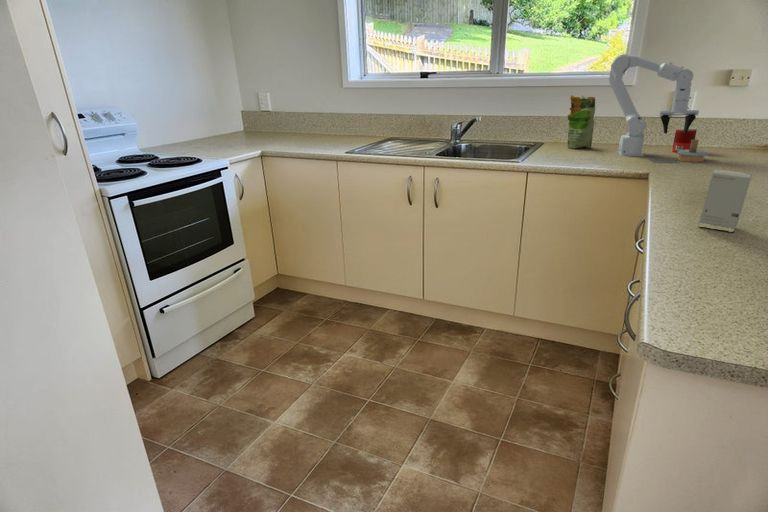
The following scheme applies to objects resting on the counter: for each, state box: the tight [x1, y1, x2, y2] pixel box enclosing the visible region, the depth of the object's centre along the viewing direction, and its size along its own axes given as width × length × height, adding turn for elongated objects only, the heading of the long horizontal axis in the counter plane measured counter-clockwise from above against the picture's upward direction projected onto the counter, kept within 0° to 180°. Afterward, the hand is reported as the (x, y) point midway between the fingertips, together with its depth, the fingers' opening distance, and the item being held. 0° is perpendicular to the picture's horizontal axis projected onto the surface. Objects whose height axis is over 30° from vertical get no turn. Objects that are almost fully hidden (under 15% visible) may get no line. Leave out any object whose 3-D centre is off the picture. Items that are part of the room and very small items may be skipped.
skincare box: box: [698, 169, 753, 230], centre depth 126 cm, size 8×6×15 cm
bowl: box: [677, 154, 705, 163], centre depth 203 cm, size 9×9×3 cm
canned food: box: [671, 126, 698, 154], centre depth 217 cm, size 8×8×11 cm
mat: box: [647, 157, 681, 164], centre depth 204 cm, size 10×10×1 cm
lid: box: [676, 139, 709, 156], centre depth 201 cm, size 11×11×6 cm
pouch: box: [567, 94, 596, 150], centre depth 235 cm, size 11×12×25 cm
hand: (675, 133), depth 207 cm, fingers open, 7 cm apart
